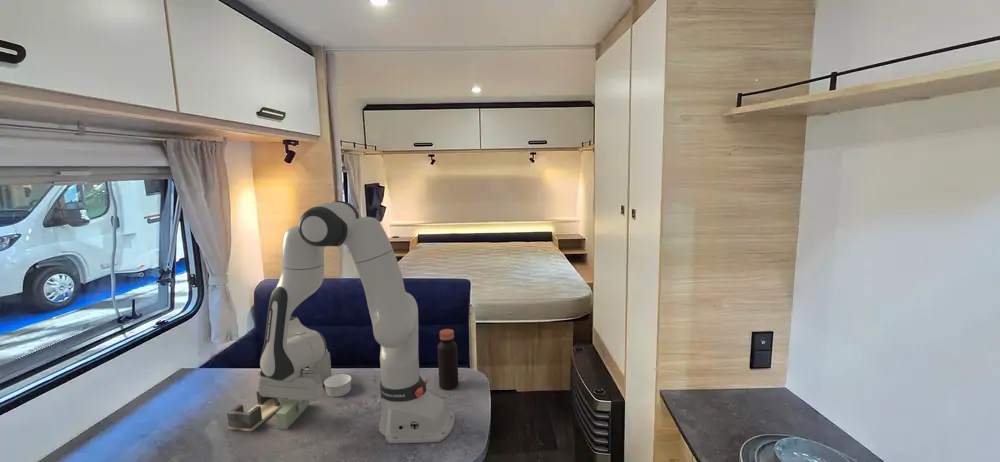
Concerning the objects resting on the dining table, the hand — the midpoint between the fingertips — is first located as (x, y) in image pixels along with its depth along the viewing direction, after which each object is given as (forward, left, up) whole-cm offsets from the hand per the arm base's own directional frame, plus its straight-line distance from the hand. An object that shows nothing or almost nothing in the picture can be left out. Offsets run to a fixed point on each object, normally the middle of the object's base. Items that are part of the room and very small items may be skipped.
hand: (293, 409), depth 135 cm
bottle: (-43, -25, -2) cm, 50 cm away
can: (+4, -21, -2) cm, 22 cm away
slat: (0, 0, -2) cm, 2 cm away
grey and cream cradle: (+11, 0, -2) cm, 12 cm away
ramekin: (-6, -16, -2) cm, 17 cm away
